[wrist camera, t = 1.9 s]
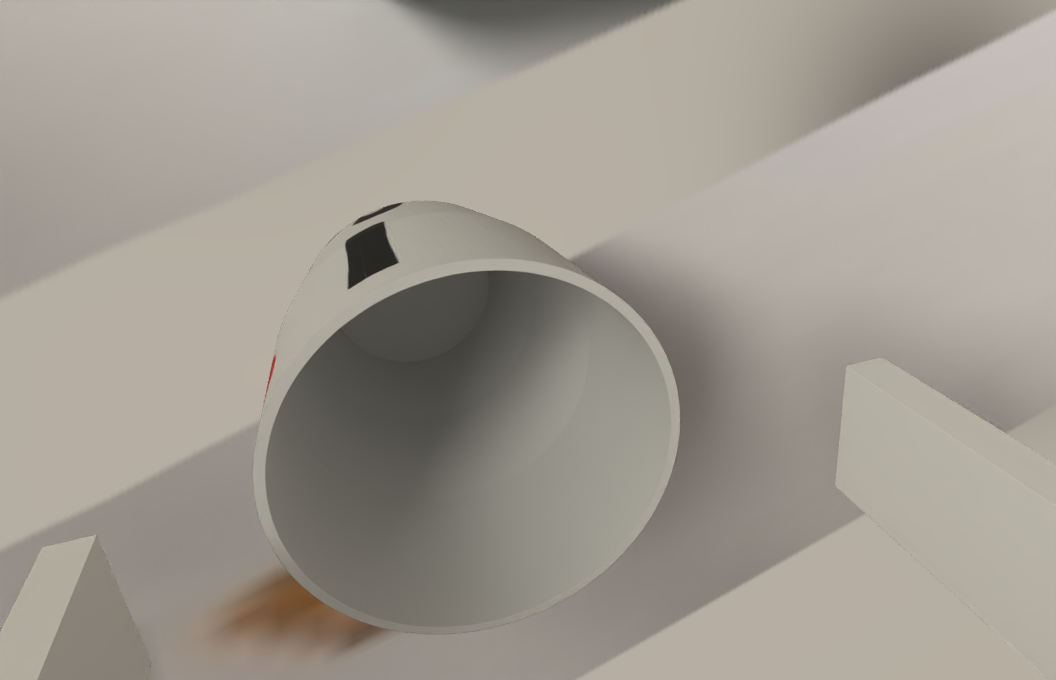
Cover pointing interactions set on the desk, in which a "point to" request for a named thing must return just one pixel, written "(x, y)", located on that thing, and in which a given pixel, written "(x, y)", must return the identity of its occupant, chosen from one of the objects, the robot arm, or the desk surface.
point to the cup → (457, 424)
